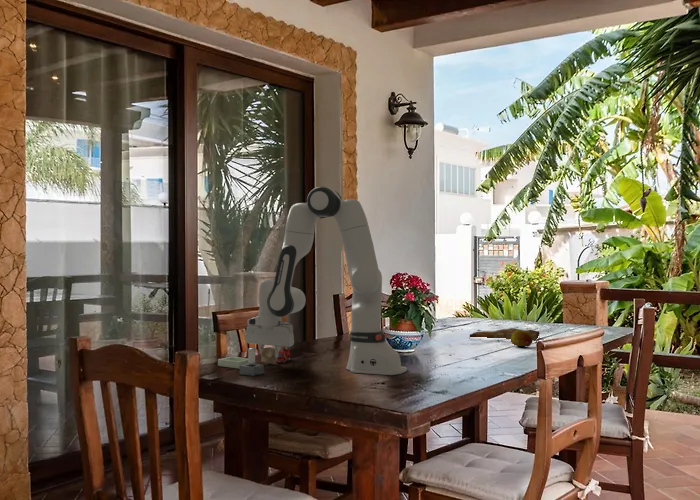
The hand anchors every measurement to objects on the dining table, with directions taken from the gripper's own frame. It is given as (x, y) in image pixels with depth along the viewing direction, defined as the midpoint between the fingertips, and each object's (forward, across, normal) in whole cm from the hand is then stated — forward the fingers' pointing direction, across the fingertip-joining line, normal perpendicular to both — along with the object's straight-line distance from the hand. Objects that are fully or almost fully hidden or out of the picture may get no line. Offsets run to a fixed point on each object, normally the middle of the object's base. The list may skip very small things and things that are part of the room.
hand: (269, 356), depth 268 cm
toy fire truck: (+3, 0, -10) cm, 11 cm away
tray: (+3, +9, +10) cm, 13 cm away
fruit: (+3, -71, -100) cm, 122 cm away
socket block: (+3, -6, +20) cm, 21 cm away
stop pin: (+3, -6, +20) cm, 21 cm away
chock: (+2, 0, 0) cm, 2 cm away
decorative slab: (+4, -56, -126) cm, 137 cm away
